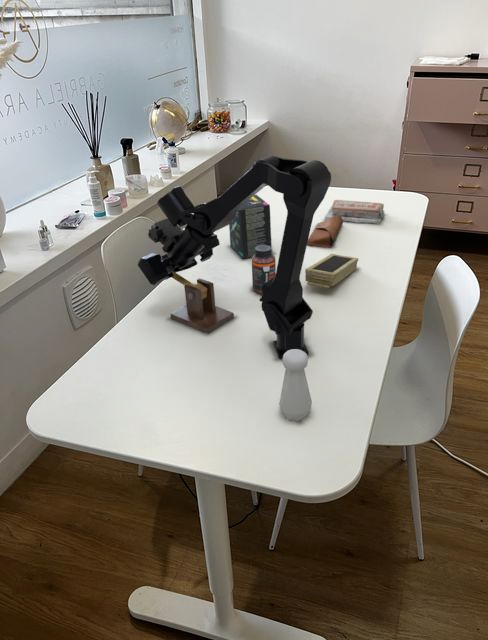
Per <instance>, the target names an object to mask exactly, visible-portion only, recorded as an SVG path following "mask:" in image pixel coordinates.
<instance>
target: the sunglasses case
mask: <svg viewBox="0 0 488 640" xmlns="http://www.w3.org/2000/svg"><path fill="white" fill-rule="evenodd" d="M343 223H344V221H343V219H342V217H341V216H340V215H336V216H333V217H331V218H329V219H327V220H326V219H325V220H323V221H321V222H318V223H317V224H316V226H315V227H314V229H313V231H312V233H311V234H310V235H309V238H308V242H307V245H309V246H312V247H313V246H314V247H317V248H318V247H319V248H327V249H328V248H331V247H333V246H334V245H335V242H336V239H337V237H338V234H339V233H340V230H341V228H342V226H343Z"/></svg>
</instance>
